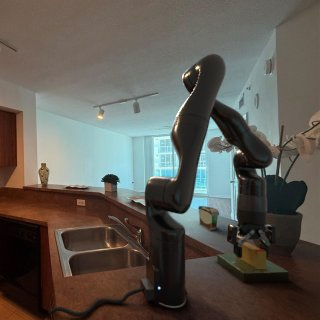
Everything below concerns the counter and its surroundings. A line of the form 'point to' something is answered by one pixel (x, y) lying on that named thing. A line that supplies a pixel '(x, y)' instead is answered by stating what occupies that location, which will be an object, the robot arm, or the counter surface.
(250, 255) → the yellow rectangular block
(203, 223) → the food container
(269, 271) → the holder base
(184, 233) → the robot arm
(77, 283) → the counter surface
